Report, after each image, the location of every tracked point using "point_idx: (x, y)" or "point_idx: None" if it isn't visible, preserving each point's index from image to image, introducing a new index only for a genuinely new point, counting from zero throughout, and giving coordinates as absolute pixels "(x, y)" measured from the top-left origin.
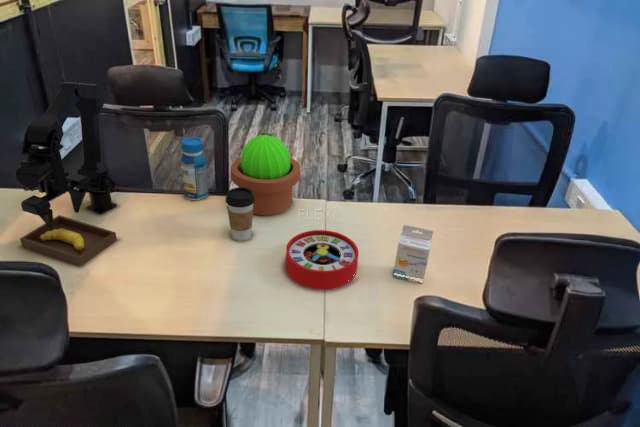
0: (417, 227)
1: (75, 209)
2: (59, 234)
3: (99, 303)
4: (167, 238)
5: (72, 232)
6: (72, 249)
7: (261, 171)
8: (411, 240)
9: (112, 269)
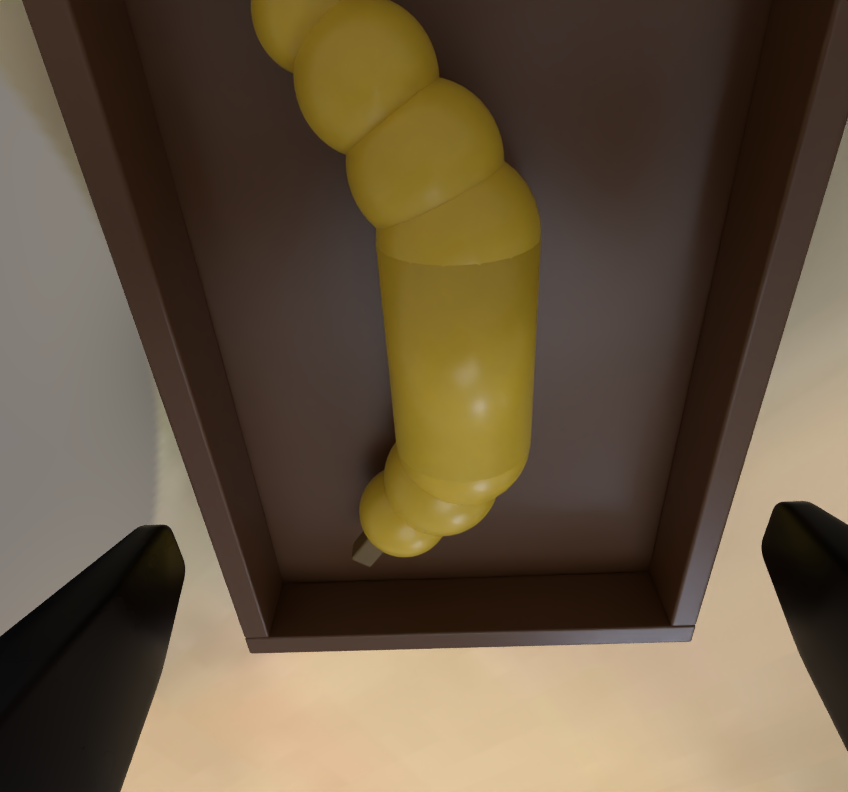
0: None
1: (802, 583)
2: (394, 298)
3: (145, 786)
4: (779, 747)
5: (482, 441)
6: (371, 430)
7: None
8: None
9: (369, 708)
